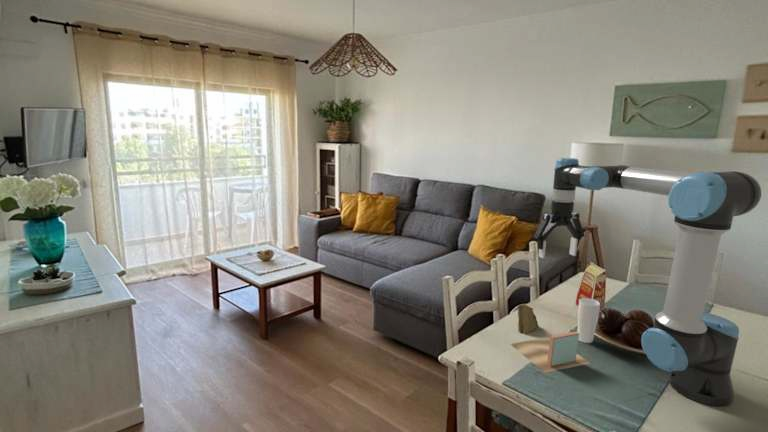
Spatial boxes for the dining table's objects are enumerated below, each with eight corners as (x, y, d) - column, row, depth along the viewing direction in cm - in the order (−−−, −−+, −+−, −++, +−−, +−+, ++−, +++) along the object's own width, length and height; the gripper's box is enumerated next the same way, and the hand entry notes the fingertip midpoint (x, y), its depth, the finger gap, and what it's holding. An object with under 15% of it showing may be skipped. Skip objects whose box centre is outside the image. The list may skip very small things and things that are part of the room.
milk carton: (573, 305, 178) (578, 261, 174) (588, 302, 182) (594, 259, 178) (591, 314, 170) (598, 268, 166) (607, 310, 174) (613, 265, 170)
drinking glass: (573, 342, 148) (578, 303, 145) (575, 334, 154) (579, 296, 151) (594, 347, 145) (600, 307, 142) (595, 338, 151) (600, 300, 148)
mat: (590, 364, 134) (590, 363, 134) (544, 374, 129) (544, 372, 129) (552, 337, 151) (552, 336, 151) (509, 345, 145) (510, 343, 145)
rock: (532, 314, 164) (509, 313, 162) (543, 304, 158) (520, 302, 156) (541, 340, 157) (517, 340, 155) (553, 330, 151) (529, 330, 149)
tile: (575, 361, 135) (579, 333, 133) (550, 366, 132) (553, 338, 130) (572, 359, 136) (575, 331, 134) (547, 364, 133) (550, 335, 131)
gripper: (584, 197, 158) (578, 251, 163) (527, 199, 152) (522, 255, 157) (599, 201, 151) (592, 256, 156) (539, 203, 145) (534, 261, 150)
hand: (557, 256), depth 156 cm, fingers open, 13 cm apart
